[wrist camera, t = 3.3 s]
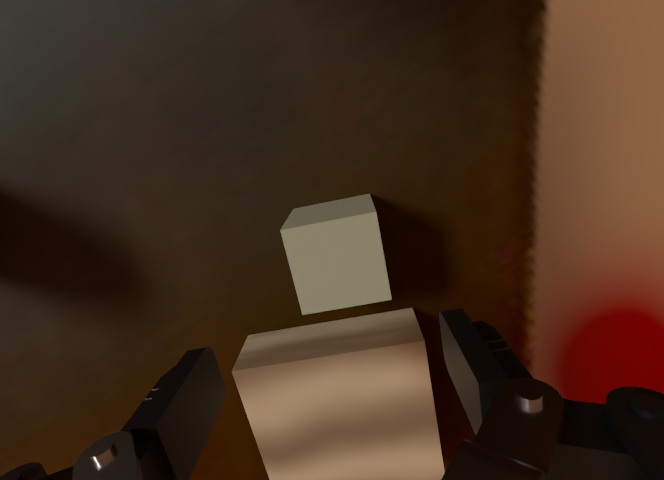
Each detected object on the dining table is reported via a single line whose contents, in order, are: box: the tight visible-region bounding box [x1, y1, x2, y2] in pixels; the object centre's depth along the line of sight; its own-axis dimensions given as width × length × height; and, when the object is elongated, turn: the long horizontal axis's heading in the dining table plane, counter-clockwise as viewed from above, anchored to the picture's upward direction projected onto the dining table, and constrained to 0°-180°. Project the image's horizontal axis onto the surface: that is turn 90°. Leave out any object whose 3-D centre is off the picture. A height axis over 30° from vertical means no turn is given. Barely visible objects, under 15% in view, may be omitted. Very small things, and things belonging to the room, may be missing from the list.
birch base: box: [232, 308, 445, 480], centre depth 25 cm, size 12×12×4 cm
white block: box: [280, 194, 392, 315], centre depth 21 cm, size 5×5×5 cm
